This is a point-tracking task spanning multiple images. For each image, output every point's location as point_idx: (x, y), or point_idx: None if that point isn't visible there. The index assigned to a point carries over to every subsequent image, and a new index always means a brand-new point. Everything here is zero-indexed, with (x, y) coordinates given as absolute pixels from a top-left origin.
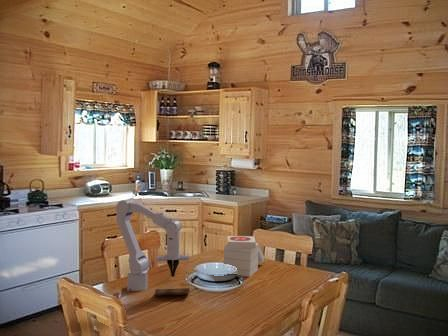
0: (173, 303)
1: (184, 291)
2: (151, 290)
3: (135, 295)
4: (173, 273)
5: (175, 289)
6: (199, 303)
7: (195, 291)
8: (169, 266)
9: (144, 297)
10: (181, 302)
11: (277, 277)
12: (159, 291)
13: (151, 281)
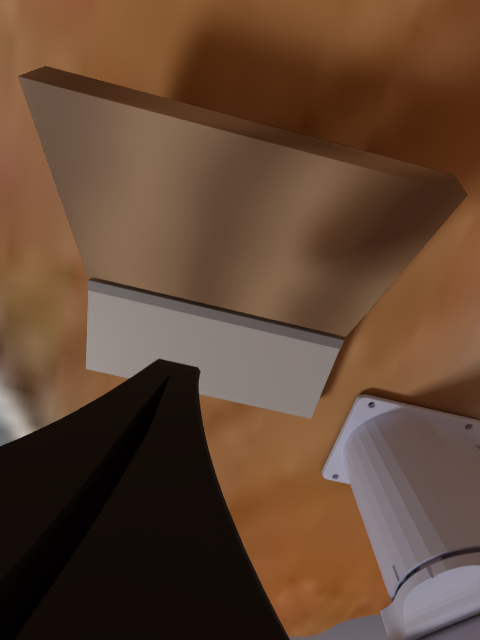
0: None
1: (107, 84)
2: (312, 438)
3: (445, 391)
4: (154, 380)
5: (212, 124)
6: (21, 31)
7: (36, 336)
8: (221, 533)
9: (409, 338)
10: None
11: None
12: (410, 167)
13: (262, 548)
